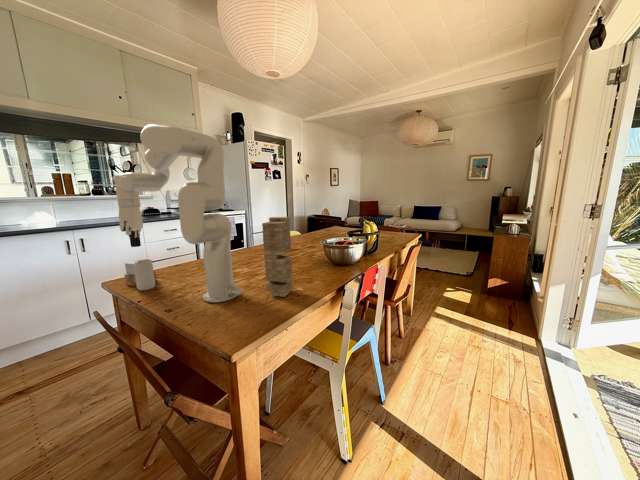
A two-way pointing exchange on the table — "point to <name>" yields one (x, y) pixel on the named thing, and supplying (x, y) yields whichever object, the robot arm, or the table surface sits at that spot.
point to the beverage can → (144, 274)
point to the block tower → (277, 255)
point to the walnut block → (133, 279)
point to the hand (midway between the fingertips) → (136, 246)
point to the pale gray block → (131, 267)
